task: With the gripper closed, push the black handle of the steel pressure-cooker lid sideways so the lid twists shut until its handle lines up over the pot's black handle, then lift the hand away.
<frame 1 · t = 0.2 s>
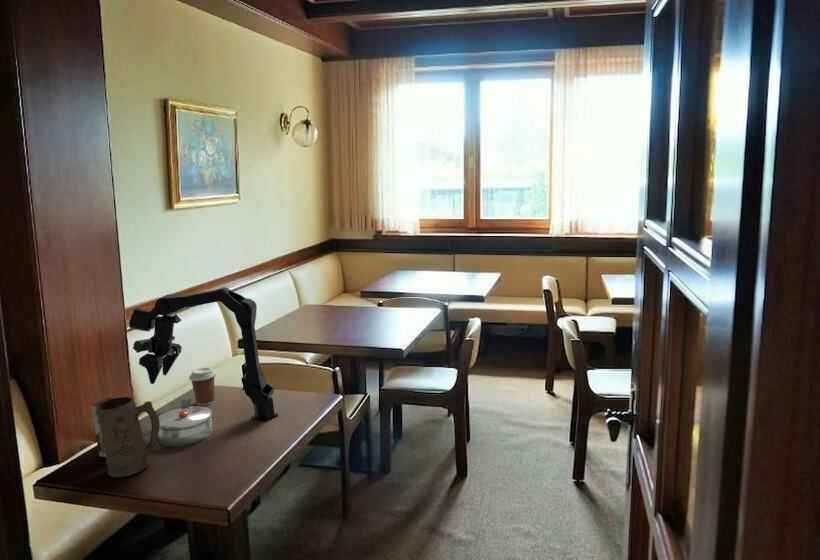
hand: (158, 379, 210), 15 cm above the table, tool pointing down, fingers open, 9 cm apart
cooker pot: (186, 435, 201), on the table
cooker lid: (184, 412, 204), point 6 cm above the table, hinge at -35.0°
coffee cup: (205, 402, 231), on the table
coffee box: (118, 454, 191), on the table
beer stein: (135, 468, 180), on the table
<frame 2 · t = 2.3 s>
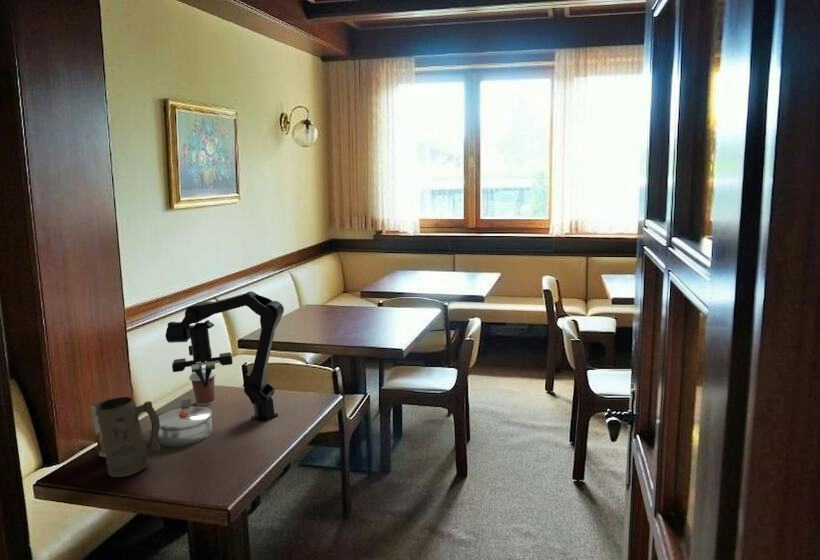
hand: (205, 386, 213), 11 cm above the table, tool pointing down, fingers closed
nothing on the table moved.
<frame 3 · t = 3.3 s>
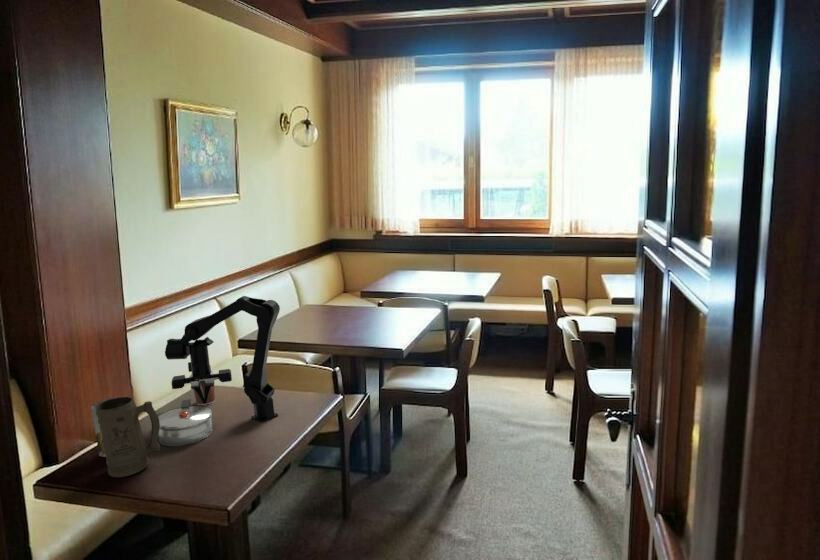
hand: (205, 403, 214), 5 cm above the table, tool pointing down, fingers closed
nothing on the table moved.
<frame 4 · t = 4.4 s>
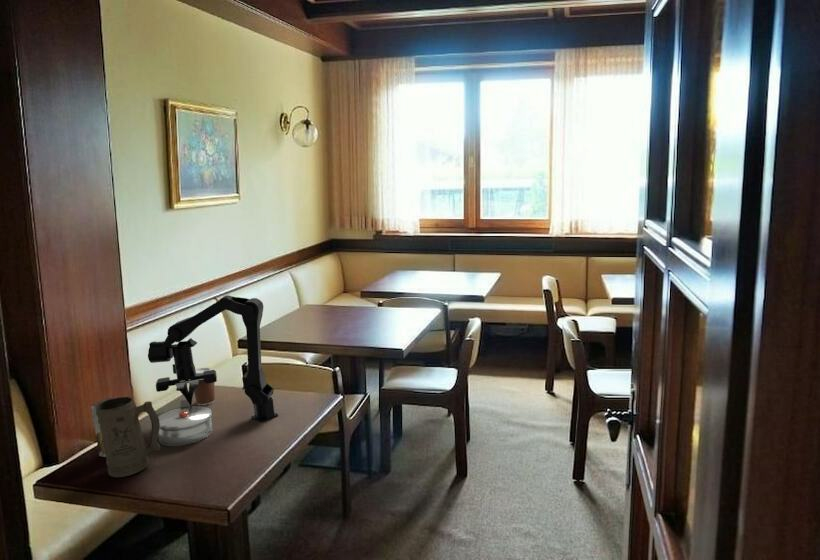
hand: (190, 405, 212), 5 cm above the table, tool pointing down, fingers closed
cooker lid: (183, 412, 203), point 6 cm above the table, hinge at -32.9°, touching gripper
everything else where it was.
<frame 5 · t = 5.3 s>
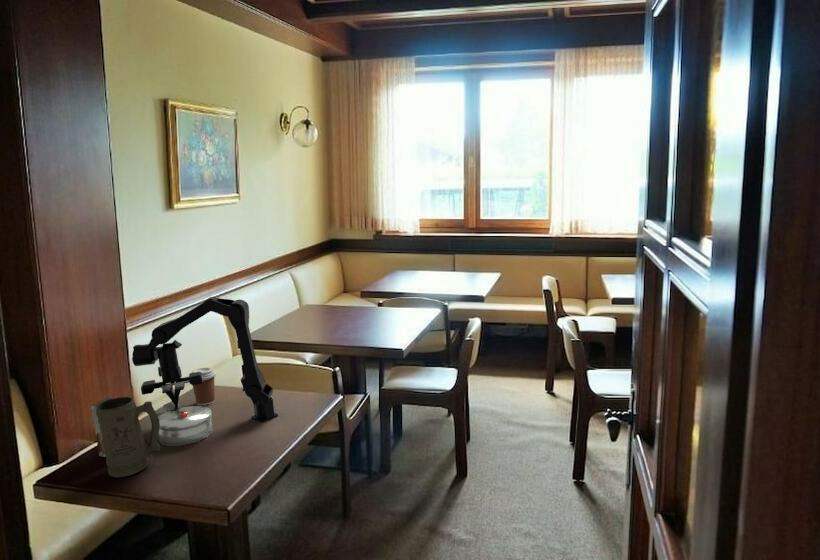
hand: (177, 407, 211), 5 cm above the table, tool pointing down, fingers closed
cooker lid: (179, 413, 203), point 6 cm above the table, hinge at -11.4°, touching gripper
everything else where it was.
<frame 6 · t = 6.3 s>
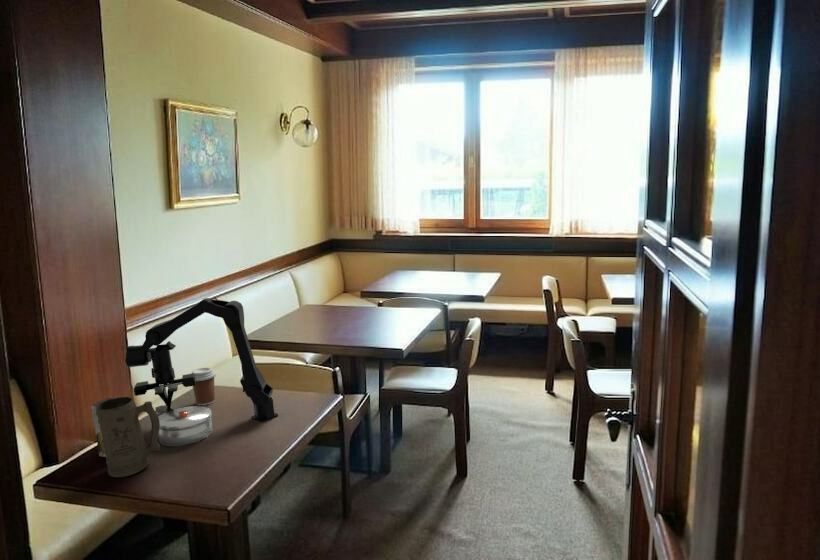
hand: (169, 409, 210), 5 cm above the table, tool pointing down, fingers closed
cooker lid: (177, 413, 202), point 6 cm above the table, hinge at -0.6°, touching gripper
everything else where it was.
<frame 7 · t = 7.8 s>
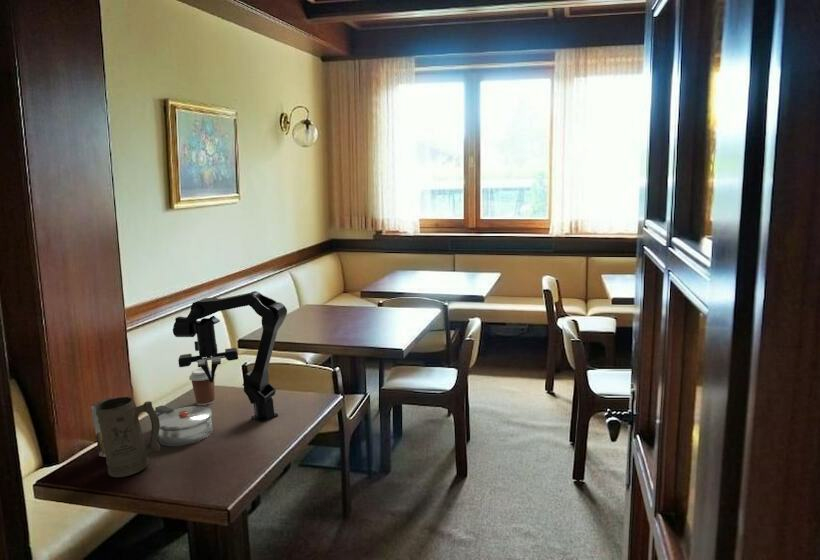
hand: (211, 382, 215), 12 cm above the table, tool pointing down, fingers closed
cooker lid: (177, 413, 202), point 6 cm above the table, hinge at -0.3°
everything else where it was.
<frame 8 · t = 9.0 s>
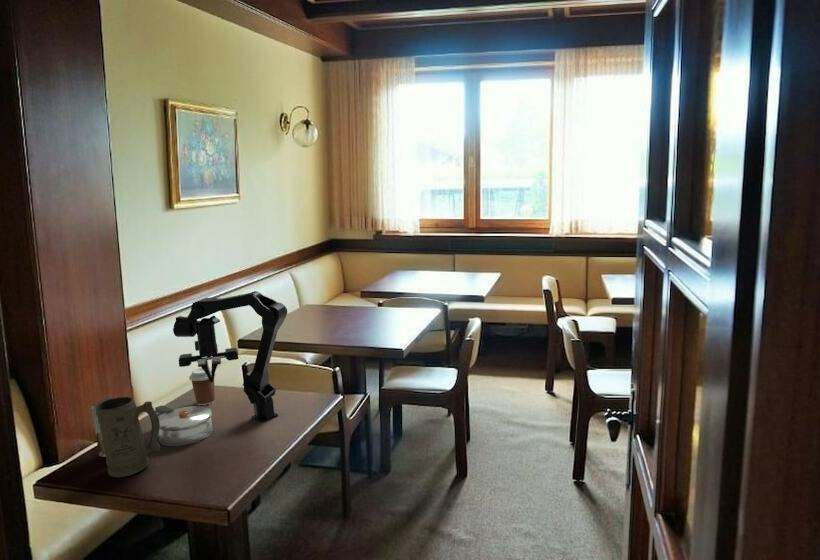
hand: (211, 381, 215), 12 cm above the table, tool pointing down, fingers closed
nothing on the table moved.
at the end: cooker lid at +0° (first picture: -35°) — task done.
